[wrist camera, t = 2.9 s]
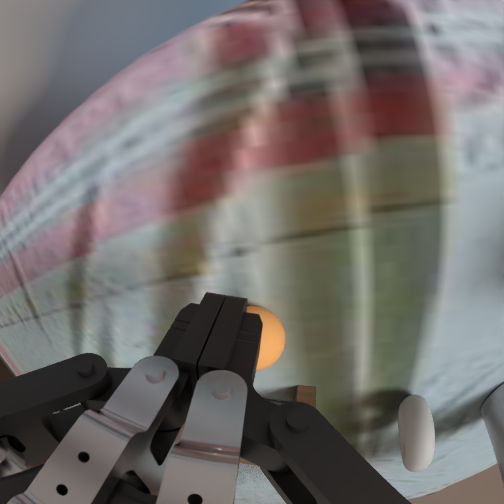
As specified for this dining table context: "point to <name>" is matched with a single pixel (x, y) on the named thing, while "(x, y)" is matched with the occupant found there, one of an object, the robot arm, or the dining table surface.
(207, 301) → the robot arm
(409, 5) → the dining table surface
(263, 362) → the ball
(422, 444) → the donut
